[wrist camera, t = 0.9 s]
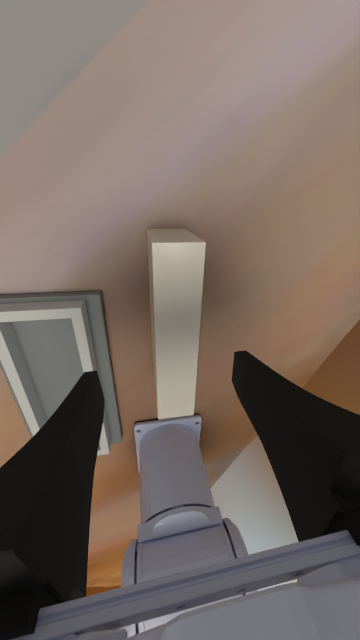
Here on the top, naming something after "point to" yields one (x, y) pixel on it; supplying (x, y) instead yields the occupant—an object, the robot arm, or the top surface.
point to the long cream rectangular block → (175, 316)
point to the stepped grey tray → (56, 355)
